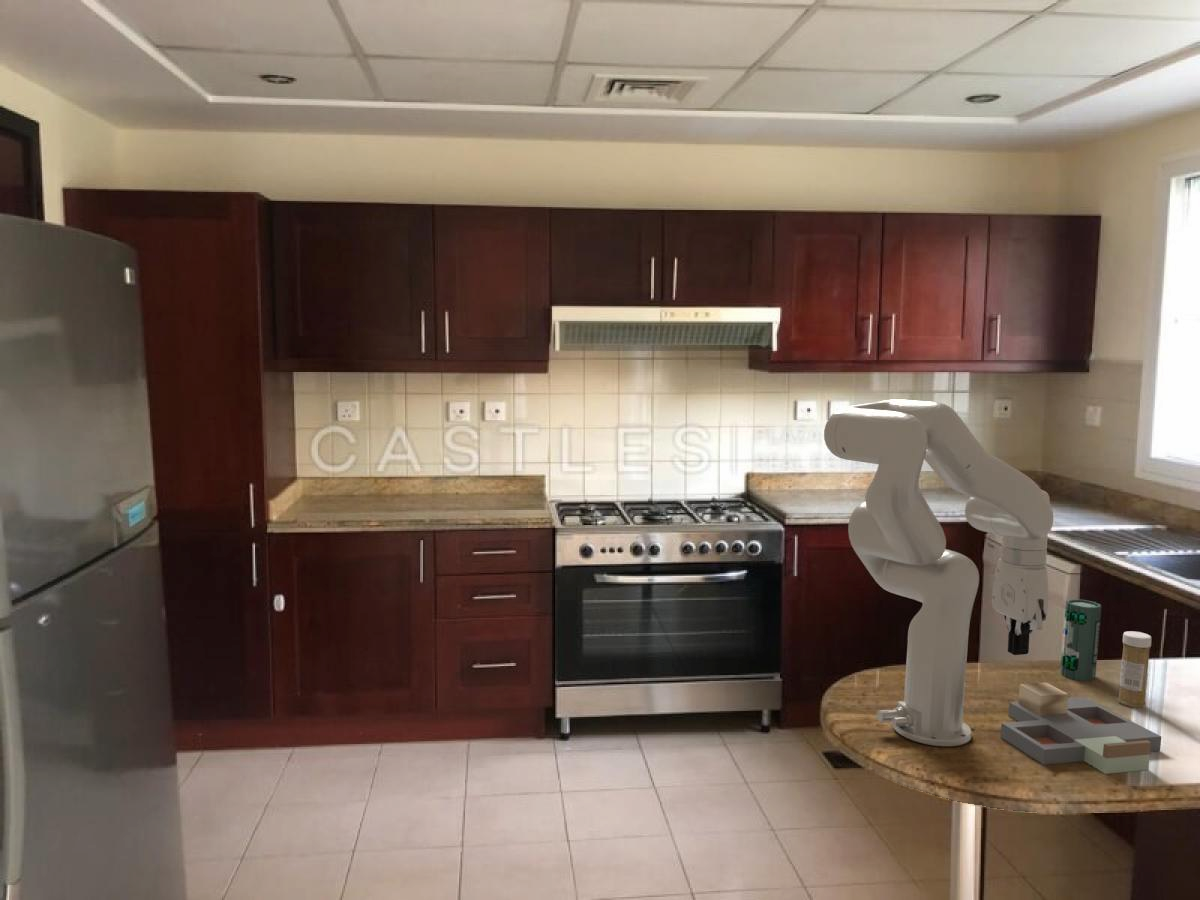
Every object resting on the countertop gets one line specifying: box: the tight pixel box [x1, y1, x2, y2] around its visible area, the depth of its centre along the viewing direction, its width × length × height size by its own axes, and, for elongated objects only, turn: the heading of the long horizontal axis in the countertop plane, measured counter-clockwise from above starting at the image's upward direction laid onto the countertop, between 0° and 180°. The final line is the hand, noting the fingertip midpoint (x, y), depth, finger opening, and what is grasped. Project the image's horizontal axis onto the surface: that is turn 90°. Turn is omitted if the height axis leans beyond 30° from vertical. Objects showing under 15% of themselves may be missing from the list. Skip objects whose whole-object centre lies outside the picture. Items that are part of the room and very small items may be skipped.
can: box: [1059, 598, 1102, 682], centre depth 186 cm, size 6×6×15 cm
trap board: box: [1000, 696, 1162, 775], centre depth 155 cm, size 23×23×4 cm
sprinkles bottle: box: [1117, 630, 1152, 709], centre depth 171 cm, size 5×5×13 cm
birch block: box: [1017, 682, 1069, 715], centre depth 162 cm, size 6×6×4 cm
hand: (1017, 652), depth 170 cm, fingers closed
